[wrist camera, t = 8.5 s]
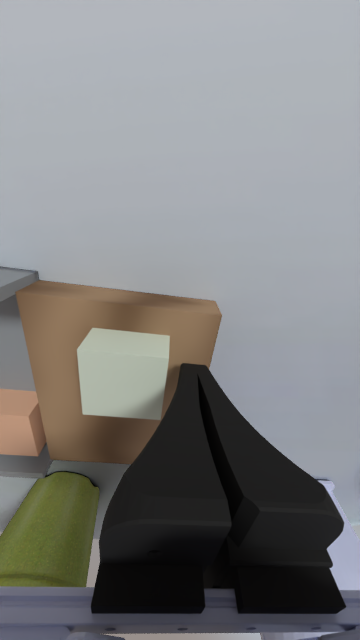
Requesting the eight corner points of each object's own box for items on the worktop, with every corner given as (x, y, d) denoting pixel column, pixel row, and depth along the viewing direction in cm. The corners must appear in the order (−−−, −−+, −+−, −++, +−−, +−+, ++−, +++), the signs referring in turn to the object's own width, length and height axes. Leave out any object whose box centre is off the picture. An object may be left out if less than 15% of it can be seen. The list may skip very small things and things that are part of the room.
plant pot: (17, 450, 18) (-97, 622, 11) (126, 468, 20) (96, 631, 12) (16, 505, 22) (-68, 661, 15) (107, 517, 24) (75, 664, 16)
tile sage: (169, 335, 11) (169, 358, 10) (162, 391, 13) (160, 420, 11) (92, 327, 11) (76, 349, 9) (95, 386, 13) (82, 414, 11)
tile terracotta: (45, 392, 15) (28, 416, 13) (52, 430, 17) (38, 456, 15) (-16, 387, 15) (-42, 411, 13) (-2, 426, 17) (-24, 452, 15)
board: (215, 301, 13) (222, 315, 11) (184, 442, 18) (185, 467, 17) (38, 280, 12) (15, 291, 10) (62, 434, 18) (50, 459, 16)
